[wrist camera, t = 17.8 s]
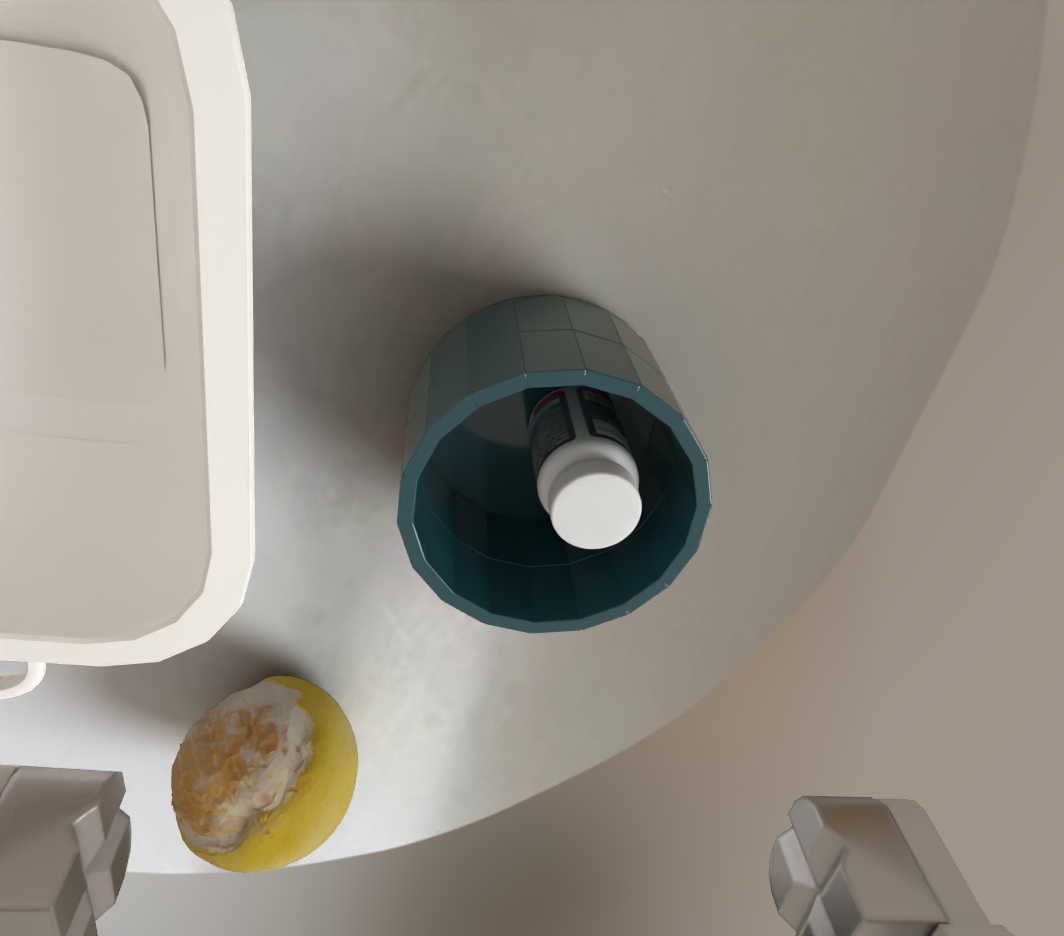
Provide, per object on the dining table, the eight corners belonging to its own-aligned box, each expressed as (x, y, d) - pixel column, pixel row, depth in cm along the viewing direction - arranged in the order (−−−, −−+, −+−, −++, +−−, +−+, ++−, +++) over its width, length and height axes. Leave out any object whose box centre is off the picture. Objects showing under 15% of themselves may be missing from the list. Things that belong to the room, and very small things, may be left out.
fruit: (398, 685, 51) (385, 825, 43) (310, 779, 55) (282, 925, 46) (252, 615, 47) (206, 753, 39) (169, 721, 51) (109, 868, 43)
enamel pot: (694, 311, 40) (750, 388, 32) (634, 534, 46) (669, 643, 39) (421, 276, 38) (411, 349, 30) (400, 514, 45) (387, 624, 37)
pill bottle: (533, 469, 43) (548, 565, 36) (521, 390, 41) (533, 476, 34) (621, 456, 43) (653, 549, 36) (613, 376, 41) (646, 458, 33)
